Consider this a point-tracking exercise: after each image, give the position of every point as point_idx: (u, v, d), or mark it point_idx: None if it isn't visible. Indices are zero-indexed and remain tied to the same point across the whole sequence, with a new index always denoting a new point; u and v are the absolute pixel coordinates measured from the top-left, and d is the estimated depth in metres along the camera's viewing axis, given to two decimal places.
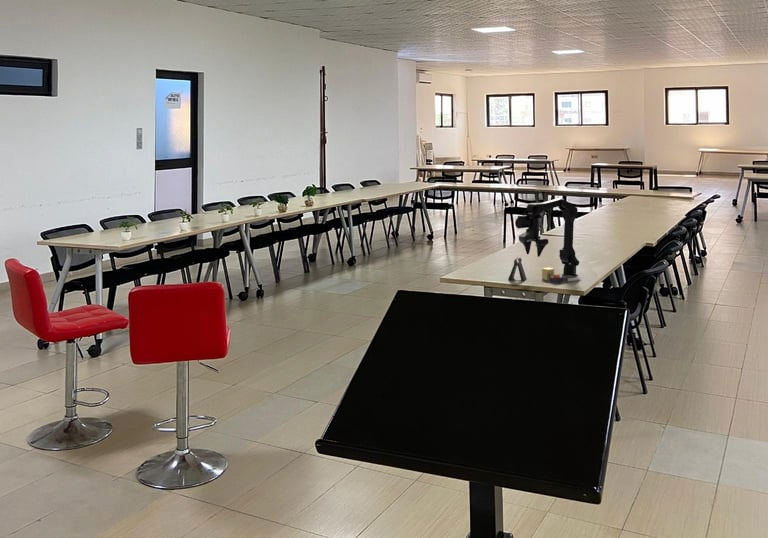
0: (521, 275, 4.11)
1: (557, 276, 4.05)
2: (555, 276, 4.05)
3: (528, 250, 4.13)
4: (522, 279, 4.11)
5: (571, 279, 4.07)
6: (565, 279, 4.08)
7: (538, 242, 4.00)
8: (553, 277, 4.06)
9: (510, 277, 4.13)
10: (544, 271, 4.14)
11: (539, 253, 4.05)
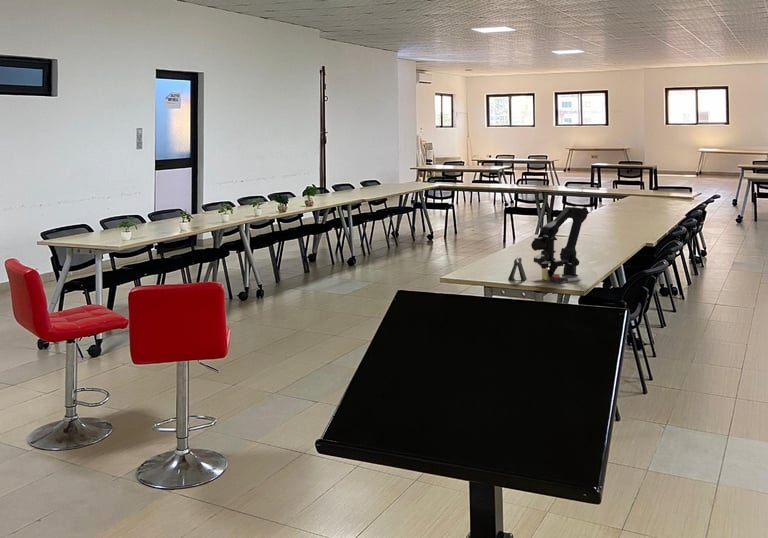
0: (521, 275, 4.11)
1: (557, 276, 4.05)
2: (555, 276, 4.05)
3: None
4: (522, 279, 4.11)
5: (571, 279, 4.07)
6: (565, 279, 4.08)
7: (553, 264, 4.05)
8: (553, 277, 4.06)
9: (510, 277, 4.13)
10: (544, 271, 4.14)
11: (551, 274, 4.12)
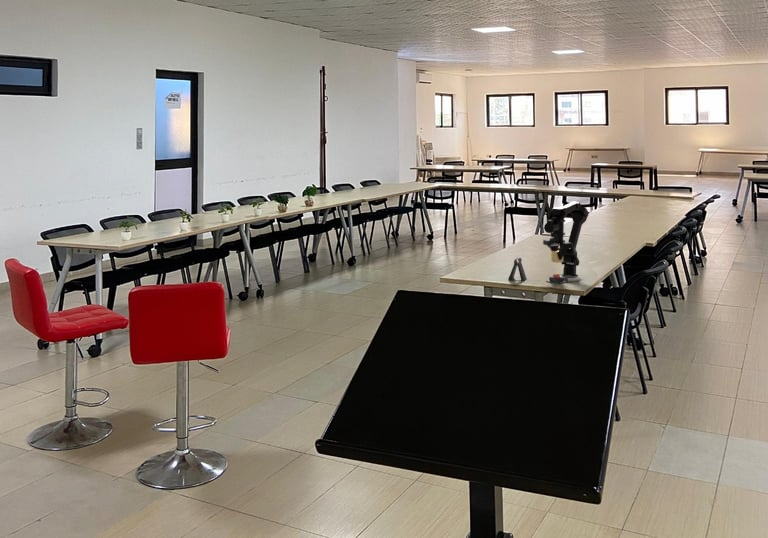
0: (521, 275, 4.11)
1: (557, 276, 4.05)
2: (555, 276, 4.05)
3: None
4: (522, 279, 4.11)
5: (571, 279, 4.07)
6: (565, 279, 4.08)
7: (562, 246, 4.01)
8: (553, 277, 4.06)
9: (510, 277, 4.13)
10: (553, 253, 4.10)
11: (561, 256, 4.08)
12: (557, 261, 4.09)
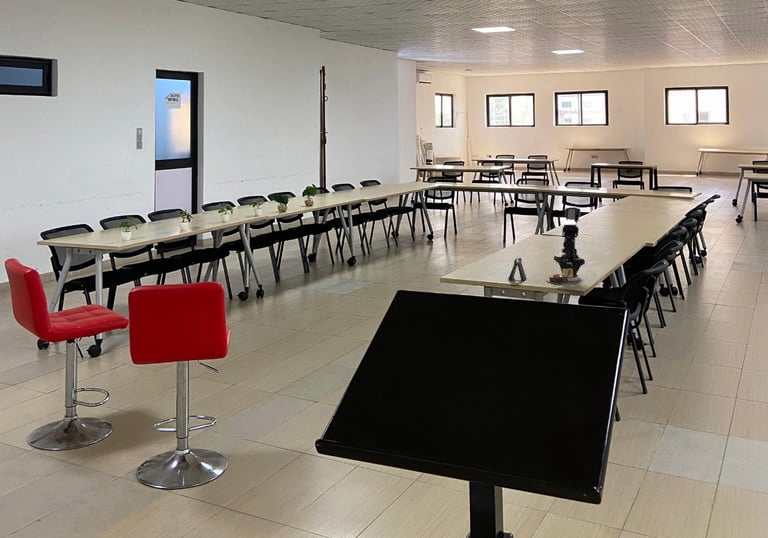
0: (521, 275, 4.11)
1: (557, 276, 4.05)
2: (555, 276, 4.05)
3: None
4: (522, 279, 4.11)
5: (571, 279, 4.07)
6: (565, 279, 4.08)
7: (575, 262, 4.00)
8: (553, 277, 4.06)
9: (510, 277, 4.13)
10: (565, 271, 4.09)
11: (575, 273, 4.06)
12: None
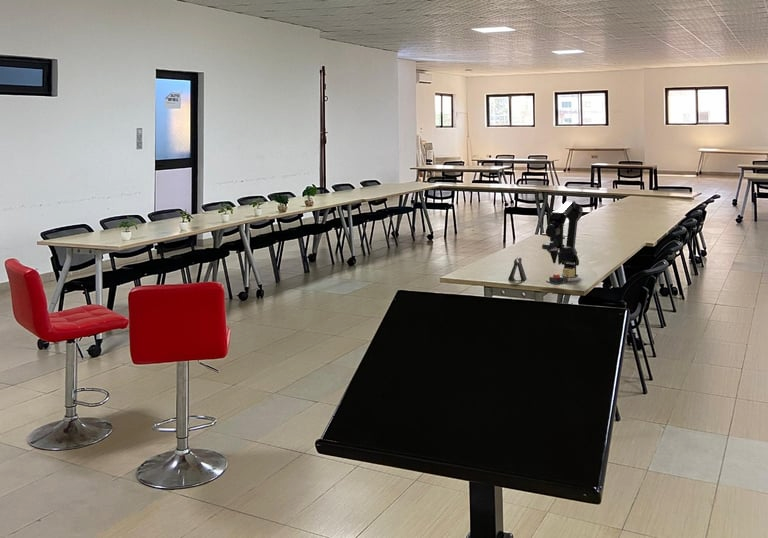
0: (521, 275, 4.11)
1: (557, 276, 4.05)
2: (555, 276, 4.05)
3: (555, 259, 4.07)
4: (522, 279, 4.11)
5: (571, 279, 4.07)
6: (565, 279, 4.08)
7: (563, 251, 3.95)
8: (553, 277, 4.06)
9: (510, 277, 4.13)
10: (565, 271, 4.09)
11: (560, 261, 4.02)
12: None
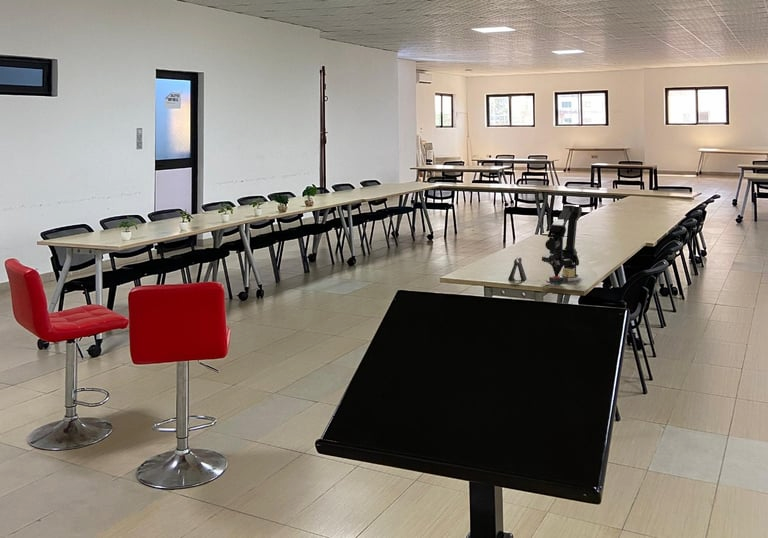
0: (521, 275, 4.11)
1: None
2: None
3: None
4: (522, 279, 4.11)
5: (571, 279, 4.07)
6: (565, 279, 4.08)
7: (562, 263, 3.96)
8: None
9: (510, 277, 4.13)
10: (565, 271, 4.09)
11: (557, 273, 4.05)
12: None
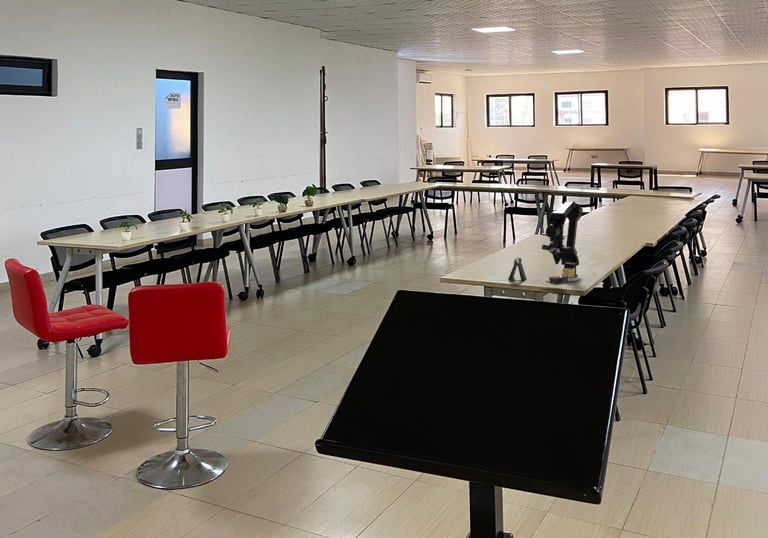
0: (521, 275, 4.11)
1: None
2: None
3: None
4: (522, 279, 4.11)
5: (571, 279, 4.07)
6: (565, 279, 4.08)
7: (562, 251, 3.95)
8: None
9: (510, 277, 4.13)
10: (565, 271, 4.09)
11: (557, 261, 4.04)
12: None
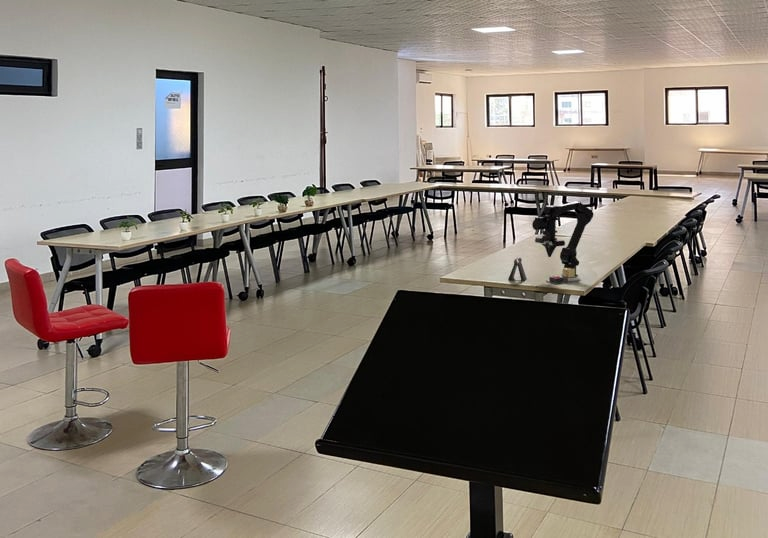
0: (521, 275, 4.11)
1: None
2: None
3: None
4: (522, 279, 4.11)
5: (571, 279, 4.07)
6: (565, 279, 4.08)
7: (555, 244, 4.05)
8: None
9: (510, 277, 4.13)
10: (565, 271, 4.09)
11: (550, 253, 4.14)
12: None
